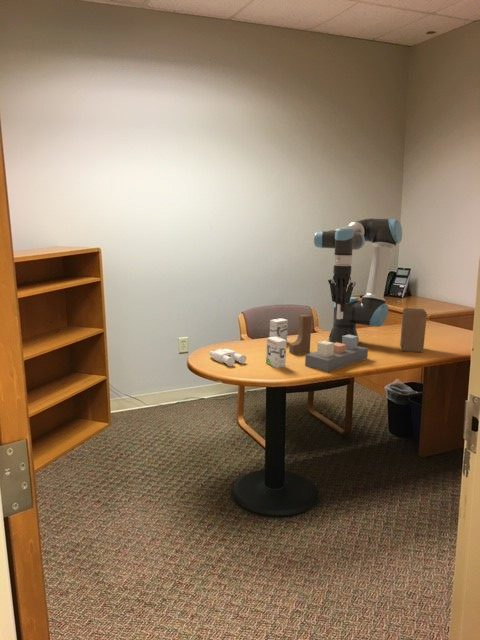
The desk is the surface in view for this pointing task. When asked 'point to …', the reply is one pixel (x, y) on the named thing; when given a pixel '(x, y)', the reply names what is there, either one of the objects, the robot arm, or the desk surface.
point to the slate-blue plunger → (350, 341)
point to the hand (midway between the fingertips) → (339, 318)
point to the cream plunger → (325, 349)
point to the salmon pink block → (339, 348)
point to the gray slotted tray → (336, 359)
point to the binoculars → (227, 356)
